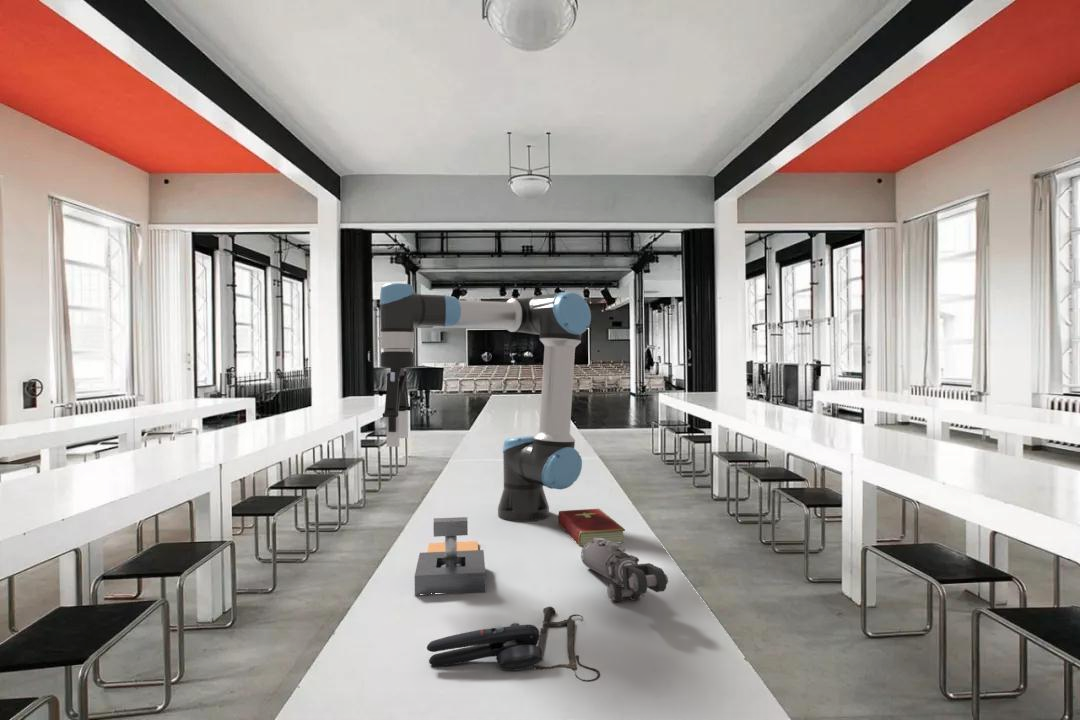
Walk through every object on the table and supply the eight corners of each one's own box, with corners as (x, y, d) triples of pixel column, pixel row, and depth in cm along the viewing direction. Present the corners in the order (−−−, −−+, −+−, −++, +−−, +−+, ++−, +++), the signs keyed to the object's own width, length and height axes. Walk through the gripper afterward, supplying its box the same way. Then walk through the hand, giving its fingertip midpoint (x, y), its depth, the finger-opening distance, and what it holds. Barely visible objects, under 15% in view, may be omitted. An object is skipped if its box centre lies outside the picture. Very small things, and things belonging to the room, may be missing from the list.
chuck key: (467, 576, 132) (467, 516, 132) (467, 584, 128) (467, 521, 128) (434, 578, 131) (434, 517, 131) (433, 585, 127) (433, 523, 127)
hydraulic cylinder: (637, 620, 105) (633, 560, 107) (574, 579, 140) (571, 534, 142) (676, 615, 107) (672, 556, 108) (604, 576, 142) (601, 531, 144)
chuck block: (483, 567, 138) (483, 549, 137) (485, 592, 124) (485, 572, 124) (419, 570, 136) (419, 552, 136) (414, 595, 122) (414, 575, 122)
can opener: (540, 649, 100) (540, 615, 100) (543, 672, 93) (542, 635, 93) (430, 653, 99) (429, 618, 99) (424, 676, 92) (423, 639, 92)
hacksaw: (542, 611, 115) (542, 603, 115) (597, 614, 114) (598, 606, 114) (530, 686, 91) (530, 677, 91) (600, 690, 90) (600, 680, 90)
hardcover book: (579, 548, 152) (579, 531, 152) (558, 525, 172) (558, 510, 172) (625, 544, 155) (624, 528, 155) (599, 522, 175) (598, 507, 175)
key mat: (477, 544, 154) (477, 541, 154) (478, 560, 142) (478, 556, 142) (429, 546, 153) (429, 543, 153) (426, 562, 141) (425, 559, 141)
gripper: (389, 350, 155) (390, 434, 155) (369, 350, 130) (370, 450, 130) (419, 350, 155) (420, 434, 156) (405, 350, 131) (406, 450, 131)
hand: (397, 442), depth 143 cm, fingers open, 13 cm apart
